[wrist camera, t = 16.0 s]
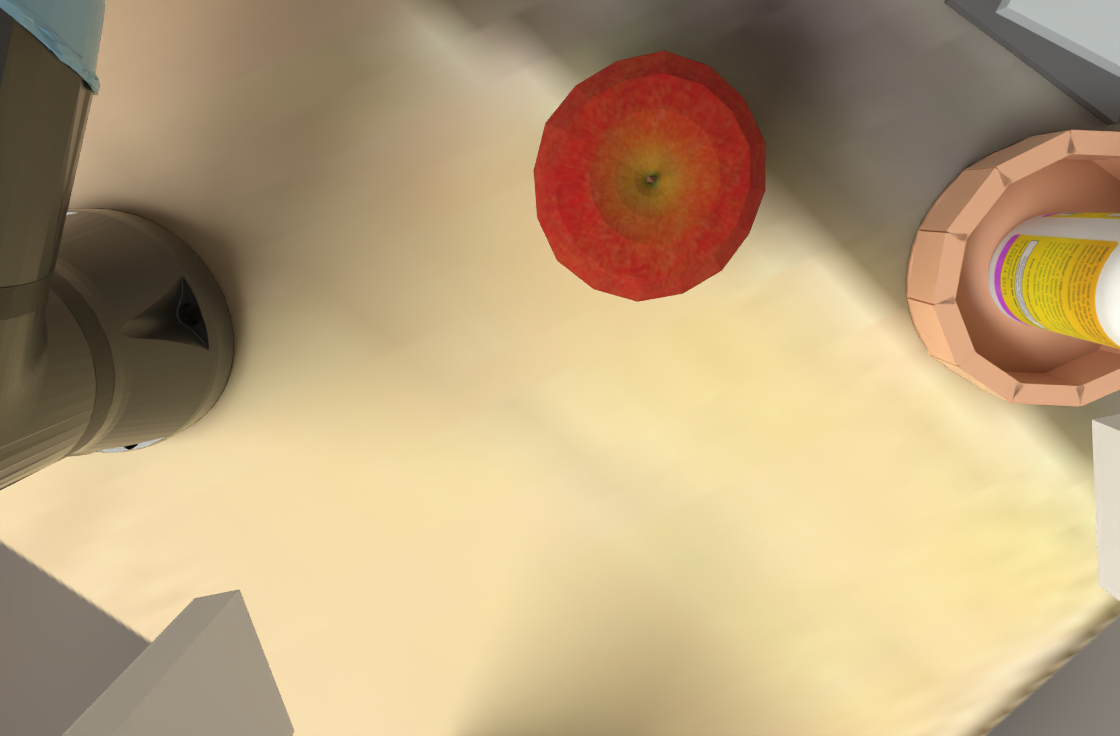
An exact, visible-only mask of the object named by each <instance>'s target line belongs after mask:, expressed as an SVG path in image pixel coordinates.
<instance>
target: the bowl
mask: <svg viewBox="0 0 1120 736" xmlns="http://www.w3.org/2000/svg"><path fill="white" fill-rule="evenodd" d="M1060 212H1079V213H1120V132H1112V131H1088V130H1067V131H1061V132H1055V133H1048V134H1042V135H1036V136H1031V137H1029V138H1027V139H1025V140H1023V141H1021V142H1019V143H1017V144H1015V145H1012V146H1009V147H1006V148H1004V149H1002V150H999V151H997V152H995V153H992V154H990V155H988V156H987V157H985V158H983V159H981V160H980V161H978V162H976V163H975V164H973V165H972V166H971V167H969V168H967V169H965V171H962V173H961V174H960V175H959V176H958V177H957V178H956V179H955V180H953V181H952V182H951V183H950V184H949V185H948V186H947V187H946V188H945V189H944V191H943V192H942V193H941V194H940V195H939V196H938V198H937V199H936V200H935V201H934V203H933V204H932V206H931V207H930V209H929V210H928V212H927V213H926V215H925V217H924V219H923V220H922V222H921V224H920V226H919V228H918V230H917V233H916V235H915V238H914V241H913V243H912V246H911V250H910V254H909V258H908V263H907V271H906V297H907V303H908V309H909V313H910V316H911V319H912V322H913V325H914V327H915V329H916V331H917V333H918V335H919V337H920V339H921V341H922V342H923V343H924V345H925V346H926V348H927V350H928V352H929V354H930V356H932V357H933V358H935V359H936V360H938V361H939V362H940V363H942V364H943V365H944V366H945V367H947V368H948V369H949V370H951V371H953V372H954V373H956V374H958V375H960V376H961V377H963V378H964V379H966V380H967V381H969V382H970V383H972V384H973V385H975V386H976V387H978V388H979V389H981V390H984V391H986V392H988V393H990V394H993V395H995V396H997V397H999V398H1001V399H1004V400H1006V401H1008V402H1011V403H1021V404H1041V405H1062V406H1080V405H1081V406H1083V405H1085V404H1088V403H1090V402H1092V401H1094V400H1097V399H1099V398H1101V397H1104V396H1106V395H1108V394H1110V393H1113V392H1115V391H1117V390H1120V349H1117V348H1114V347H1110V346H1106V345H1102V344H1099V343H1095V342H1091V341H1087V340H1083V339H1079V338H1076V337H1072V336H1068V335H1064V334H1060V333H1056V332H1052V331H1048V330H1045V329H1041V328H1036V327H1032V326H1029V325H1026V324H1022V323H1019V322H1017V321H1015V320H1013V319H1011V318H1009V317H1008V316H1006V315H1005V314H1004V313H1003V312H1002V311H1001V310H1000V309H999V308H998V307H997V305H996V304H995V303H994V301H993V299H992V297H991V295H990V292H989V287H988V269H989V264H990V261H991V258H992V255H993V253H994V251H995V249H996V248H997V246H998V245H999V243H1000V242H1001V240H1002V239H1003V238H1004V237H1005V236H1006V235H1007V234H1008V233H1009V232H1010V231H1011V230H1012V229H1014V228H1015V227H1016V226H1018V225H1019V224H1021V223H1022V222H1024V221H1026V220H1028V219H1030V218H1033V217H1036V216H1039V215H1043V214H1048V213H1060Z"/></svg>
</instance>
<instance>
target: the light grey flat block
mask: <svg viewBox="0 0 1120 736" xmlns="http://www.w3.org/2000/svg"><path fill="white" fill-rule="evenodd" d="M996 13H998V14H1000V15H1001V16H1003V17H1005V18H1007V19H1009V20H1011V21H1013V22H1015V23H1017V24H1019V25H1021V26H1023V27H1024V28H1026V29H1028V30H1030V31H1032V32H1034V33H1036V34H1038V35H1040V36H1042V37H1044V38H1046V39H1047V40H1049V41H1051V42H1053V43H1055V44H1057V45H1059V46H1061V47H1063V48H1065V49H1067V50H1069V51H1070V52H1072V53H1074V54H1076V55H1078V56H1080V57H1082V58H1084V59H1086V60H1088V61H1090V62H1092V63H1093V64H1095V65H1097V66H1099V67H1101V68H1103V69H1105V70H1107V71H1109V72H1111V73H1113V74H1114V75H1116V76H1118V77H1120V0H1002V1H1001V3H1000V5H999V7H998V9H997V10H996Z"/></svg>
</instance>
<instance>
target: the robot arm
mask: <svg viewBox="0 0 1120 736" xmlns="http://www.w3.org/2000/svg"><path fill="white" fill-rule="evenodd" d="M104 13H105V0H0V490H2V489H4V488H6V487H8V486H10V485H12V484H14V483H16V482H18V481H20V480H22V479H23V478H25V477H27V476H29V475H31V474H33V473H35V472H37V471H39V470H41V469H43V468H45V467H47V466H49V465H51V464H53V463H55V462H57V461H59V460H61V459H63V458H65V457H68V456H79V455H86V454H91V453H94V452H124V451H132V450H137V449H142V448H145V447H148V446H152V445H155V444H157V443H160V442H162V441H164V440H166V439H168V438H170V437H172V436H174V435H175V434H177V433H179V432H181V431H183V430H184V429H186V428H188V427H190V426H191V425H193V424H194V423H195V422H197V421H198V420H199V419H201V418H202V417H203V416H204V415H205V414H206V413H207V412H208V411H209V410H210V409H211V407H212V406H213V405H214V404H215V402H216V401H217V399H218V398H219V396H220V395H221V393H222V391H223V389H224V387H225V385H226V382H227V379H228V377H229V373H230V370H231V365H232V359H233V330H232V323H231V318H230V314H229V311H228V307H227V304H226V302H225V299H224V297H223V294H222V292H221V290H220V288H219V286H218V284H217V282H216V281H215V279H214V277H213V275H212V274H211V273H210V271H209V270H208V268H207V267H206V266H205V264H204V263H203V262H202V260H201V259H200V258H199V257H198V256H197V255H196V254H195V253H194V252H193V251H192V250H191V249H190V248H189V247H188V246H187V245H186V244H185V243H184V242H183V241H181V240H180V239H179V238H178V237H176V236H175V235H174V234H172V233H171V232H169V231H168V230H166V229H164V228H163V227H161V226H159V225H157V224H156V223H153V222H151V221H149V220H147V219H145V218H142V217H139V216H137V215H133V214H130V213H126V212H122V211H117V210H110V209H68V206H69V202H70V197H71V192H72V188H73V183H74V179H75V174H76V170H77V165H78V161H79V156H80V151H81V147H82V142H83V138H84V133H85V129H86V124H87V120H88V115H89V110H90V106H91V101H92V97H93V94H94V95H98V92H99V88H100V83H99V79H98V77H97V76H96V74H95V73H96V66H97V60H98V53H99V46H100V40H101V33H102V26H103V20H104ZM1092 432H1093V458H1094V483H1095V509H1096V535H1097V561H1098V586H1099V587H1101V588H1102V589H1104V590H1105V591H1106V592H1108V593H1109V594H1110V595H1112V596H1113V597H1115V598H1116V599H1117V600H1119V601H1120V414H1118V415H1113V416H1108V417H1103V418H1098V419H1093V420H1092ZM293 733H294V729H293V726H292V724H291V721H290V719H289V716H288V713H287V711H286V708H285V706H284V703H283V701H282V698H281V695H280V693H279V690H278V688H277V685H276V682H275V680H274V677H273V675H272V672H271V670H270V667H269V664H268V662H267V659H266V657H265V654H264V651H263V649H262V646H261V644H260V641H259V639H258V636H257V633H256V631H255V628H254V626H253V623H252V620H251V618H250V615H249V613H248V610H247V608H246V605H245V602H244V600H243V597H242V595H241V592H240V590H235V591H230V592H225V593H220V594H215V595H210V596H204V597H199V598H195V599H194V600H193V601H192V602H191V603H190V604H189V605H188V606H187V607H186V608H185V609H184V610H183V611H182V612H181V613H180V614H179V615H178V616H177V617H176V618H175V619H174V620H173V621H172V622H171V623H170V624H169V625H168V627H167V628H166V629H165V630H164V631H163V632H162V633H161V634H160V635H159V636H158V637H157V638H156V639H155V640H154V641H153V642H152V643H151V644H150V645H149V646H148V647H147V648H146V649H145V650H144V651H143V652H142V653H141V654H140V655H139V656H138V657H137V658H136V660H135V661H134V662H133V663H132V664H131V665H130V666H129V667H128V668H127V669H126V670H125V671H124V672H123V673H122V674H121V675H120V676H119V677H118V678H117V679H116V680H115V681H114V682H113V683H112V684H111V685H110V687H108V688H107V690H106V691H105V692H104V693H103V694H102V695H101V696H100V697H99V698H98V699H97V700H96V701H95V702H94V703H93V704H92V705H91V706H90V707H89V708H88V709H87V710H86V711H85V712H84V713H83V714H82V716H80V717H79V718H78V719H77V720H76V722H74V724H73V725H72V726H71V727H70V728H69V729H68V730H67V731H66V732H65V733H64V734H63V735H62V736H292V735H293Z"/></svg>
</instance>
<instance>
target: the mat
mask: <svg viewBox="0 0 1120 736" xmlns="http://www.w3.org/2000/svg"><path fill="white" fill-rule="evenodd" d="M1001 1H1002V0H946V1H945V3H946V4H947V5H949V6H950V7H951V8H953V9H954V10H955V11H957V12H958V13H959V14H961V15H962V16H963V17H965V18H966V19H967V20H969V21H970V22H971V23H973V24H974V25H975V26H977V27H978V28H979V29H981V30H982V31H983V32H985V33H986V34H987V35H989V36H990V37H991V38H993V39H994V40H995V41H997V42H998V43H999V44H1001V45H1002V46H1003V47H1005V48H1006V49H1007V50H1009V51H1010V52H1011V53H1013V54H1014V55H1015V56H1017V57H1018V58H1019V59H1021V60H1022V61H1023V62H1025V63H1026V64H1027V65H1029V66H1030V67H1031V68H1033V69H1034V70H1035V71H1037V72H1038V73H1039V74H1041V75H1042V76H1043V77H1045V78H1046V79H1047V80H1049V81H1050V82H1051V83H1053V84H1054V85H1055V86H1057V87H1058V88H1059V89H1061V90H1062V91H1063V92H1065V93H1066V94H1067V95H1069V96H1070V97H1071V98H1073V99H1074V100H1075V101H1077V102H1078V103H1079V104H1081V105H1082V106H1083V107H1085V108H1086V109H1087V110H1089V111H1090V112H1091V113H1093V114H1094V115H1095V116H1097V117H1098V118H1099V119H1101V120H1102V121H1103V122H1105V123H1106V124H1107V125H1108V124H1115V123H1117V121H1118V120H1119V119H1120V77H1118V76H1116V75H1114V74H1113V73H1111V72H1109V71H1107V70H1105V69H1103V68H1101V67H1099V66H1097V65H1095V64H1093V63H1092V62H1090V61H1088V60H1086V59H1084V58H1082V57H1080V56H1078V55H1076V54H1074V53H1072V52H1070V51H1069V50H1067V49H1065V48H1063V47H1061V46H1059V45H1057V44H1055V43H1053V42H1051V41H1049V40H1047V39H1046V38H1044V37H1042V36H1040V35H1038V34H1036V33H1034V32H1032V31H1030V30H1028V29H1026V28H1024V27H1023V26H1021V25H1019V24H1017V23H1015V22H1013V21H1011V20H1009V19H1007V18H1005V17H1003V16H1001V15H1000V14H998V13H996V10H997V9H998V7H999V5H1000V3H1001Z"/></svg>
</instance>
